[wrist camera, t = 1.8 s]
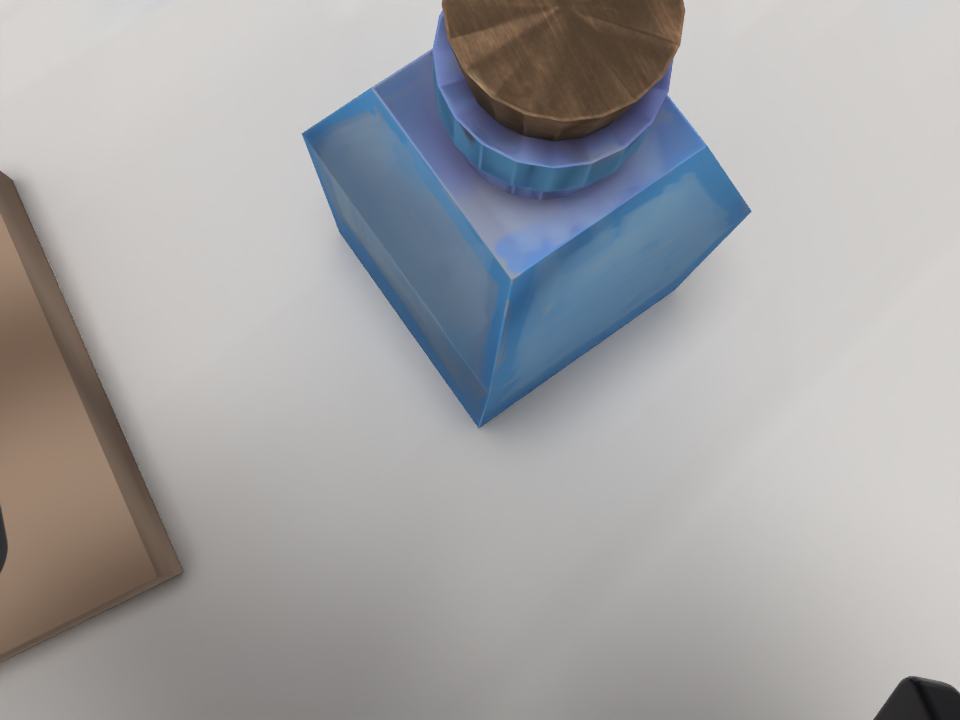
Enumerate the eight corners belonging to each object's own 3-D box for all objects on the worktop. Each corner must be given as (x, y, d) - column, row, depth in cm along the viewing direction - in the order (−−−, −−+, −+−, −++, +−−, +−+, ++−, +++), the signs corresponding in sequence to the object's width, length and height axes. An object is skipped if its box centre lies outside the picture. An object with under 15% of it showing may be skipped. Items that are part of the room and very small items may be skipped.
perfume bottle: (673, 290, 24) (896, 64, 12) (478, 428, 23) (509, 332, 11) (533, 104, 25) (611, -281, 13) (339, 232, 24) (231, -51, 12)
